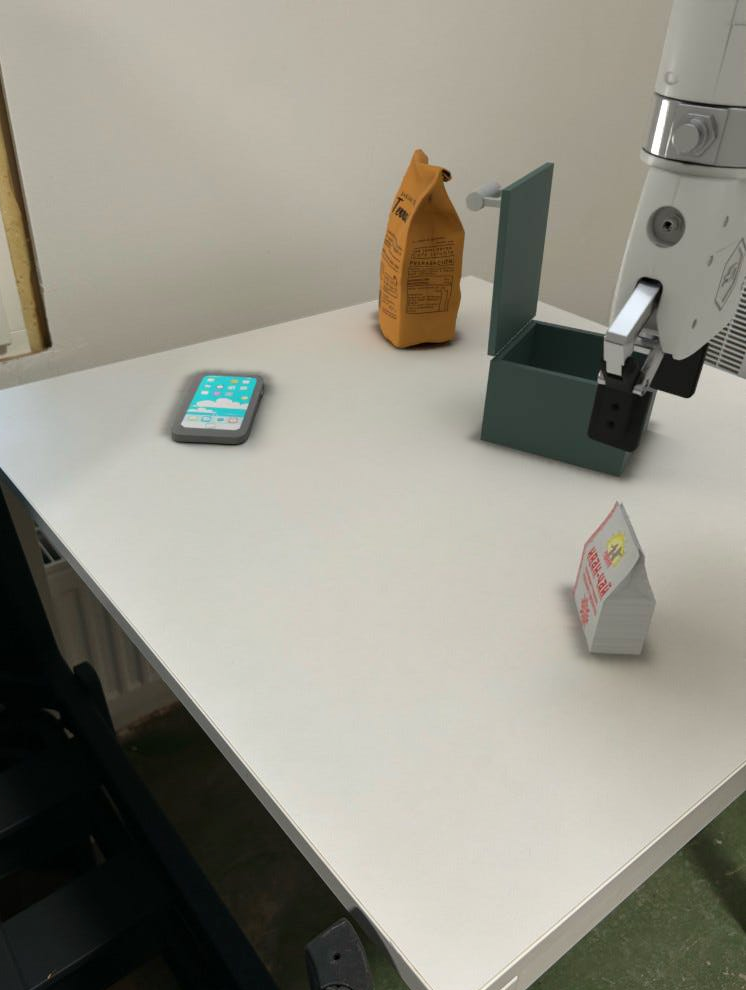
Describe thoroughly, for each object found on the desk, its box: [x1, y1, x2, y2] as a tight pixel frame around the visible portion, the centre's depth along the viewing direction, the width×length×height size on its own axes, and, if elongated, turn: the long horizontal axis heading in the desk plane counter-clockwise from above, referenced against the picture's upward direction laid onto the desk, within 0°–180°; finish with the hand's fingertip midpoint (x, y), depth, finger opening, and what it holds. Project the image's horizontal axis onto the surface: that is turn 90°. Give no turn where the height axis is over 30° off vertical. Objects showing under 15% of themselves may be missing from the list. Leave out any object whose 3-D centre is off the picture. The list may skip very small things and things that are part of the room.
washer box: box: [479, 318, 658, 478], centre depth 86 cm, size 15×13×10 cm
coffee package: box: [378, 148, 466, 349], centre depth 105 cm, size 10×12×22 cm
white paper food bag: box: [572, 500, 657, 656], centre depth 61 cm, size 4×7×10 cm, turn 178°
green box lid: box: [465, 162, 555, 357], centre depth 82 cm, size 15×13×6 cm
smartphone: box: [170, 372, 265, 445], centre depth 93 cm, size 9×1×15 cm
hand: (642, 416), depth 55 cm, fingers open, 9 cm apart
